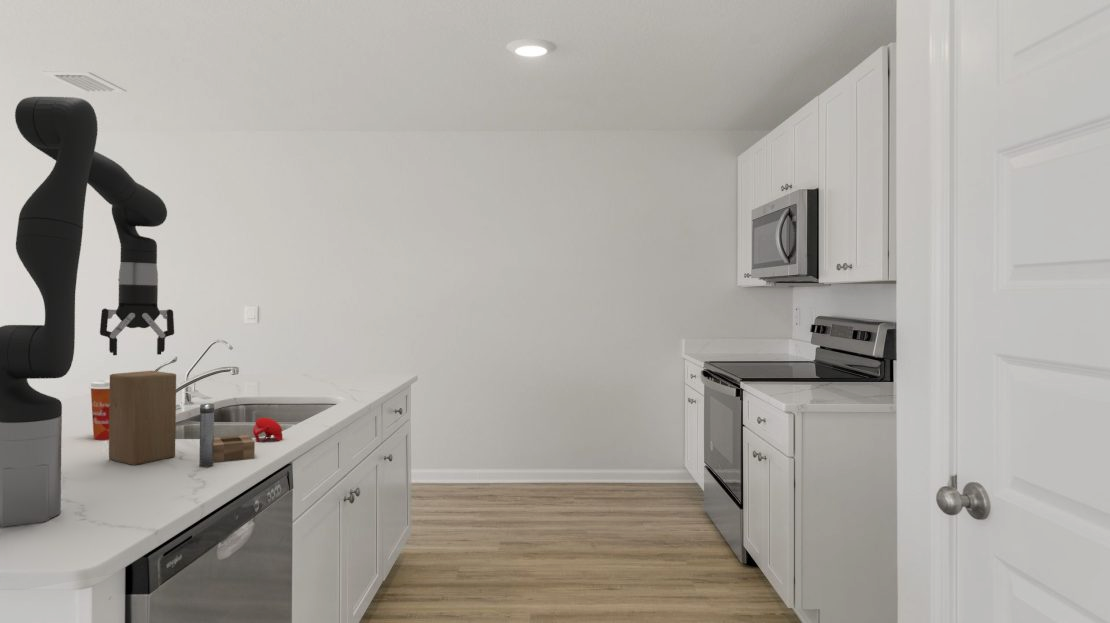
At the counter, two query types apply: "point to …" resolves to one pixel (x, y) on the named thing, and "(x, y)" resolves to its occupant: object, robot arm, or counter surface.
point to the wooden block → (142, 416)
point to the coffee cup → (100, 408)
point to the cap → (267, 428)
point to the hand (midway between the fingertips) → (137, 354)
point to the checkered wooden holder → (233, 448)
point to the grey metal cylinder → (206, 435)
